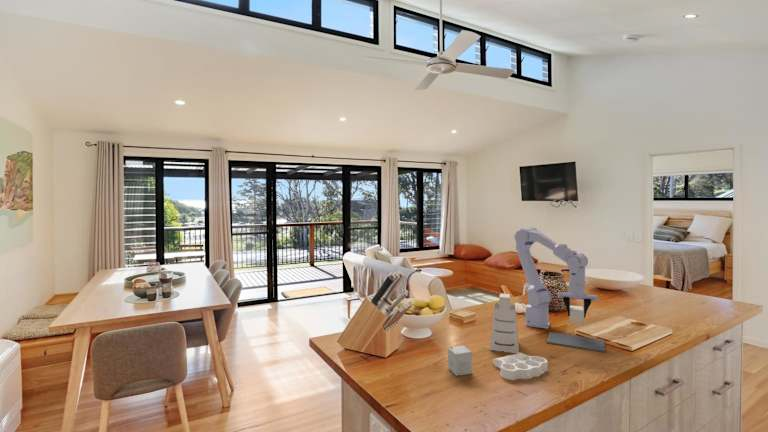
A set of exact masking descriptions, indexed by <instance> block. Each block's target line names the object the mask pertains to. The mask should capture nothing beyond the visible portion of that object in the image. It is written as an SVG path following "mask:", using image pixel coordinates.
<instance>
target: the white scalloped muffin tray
mask: <svg viewBox="0 0 768 432" xmlns="http://www.w3.org/2000/svg"><path fill="white" fill-rule="evenodd" d="M548 363H549V362H548V360H547V358H545V357H543V356H539V355H527V354H525V353H523V352H519V353H513V354H510V355H509V354H508V355H505V356H501V357H496V358H493V359H492V364H493V365H494V366H495V367H496V368H497V367H498V368H497V369H500V376H501V377H502V378H504V379H506V380H510V381H516V380H519V379H520V380H530V379H532V378H535V377H536V378H537V377H540V376H542V375H543V374H545V373H546V372H548V368H549V367H548Z"/></svg>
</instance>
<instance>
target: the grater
mask: <svg viewBox="0 0 768 432" xmlns="http://www.w3.org/2000/svg"><path fill="white" fill-rule="evenodd" d="M498 301H499V302H498V303H497V302H496V303H495V304H494V307H493V315H492V316H493V317H492V326H491V334H490V343H489V344H490V345H489V351H492V350H495V351H494V352H501V351H504V352H503V353H510V352H511V353H513V354H517V353H520V346H519V344H520V342H519V341H520V340H519V331H518V323H517V314H516V313H517V311H516V306H515V304H512V303H511V294H510V293H499V299H498ZM510 303H511V304H510ZM499 344H501V345H499ZM509 345H510V346H509ZM511 345H512V346H511ZM511 353H510V354H511Z"/></svg>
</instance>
